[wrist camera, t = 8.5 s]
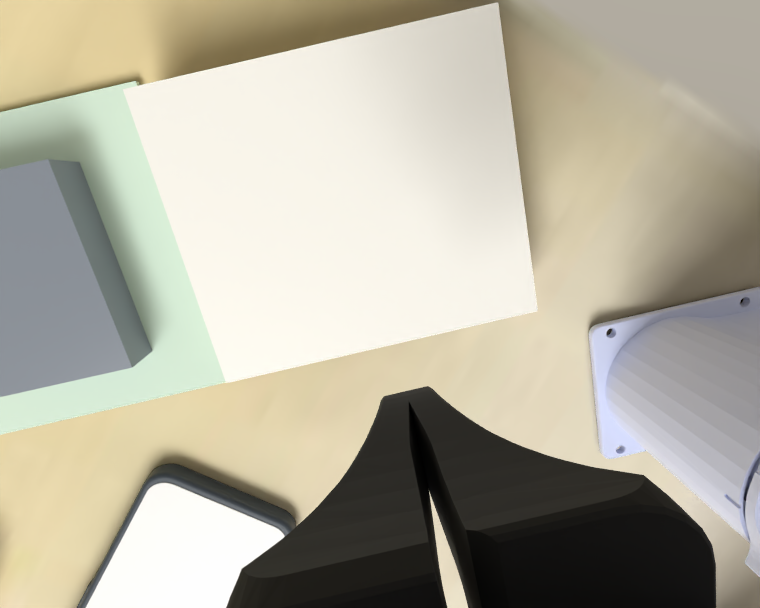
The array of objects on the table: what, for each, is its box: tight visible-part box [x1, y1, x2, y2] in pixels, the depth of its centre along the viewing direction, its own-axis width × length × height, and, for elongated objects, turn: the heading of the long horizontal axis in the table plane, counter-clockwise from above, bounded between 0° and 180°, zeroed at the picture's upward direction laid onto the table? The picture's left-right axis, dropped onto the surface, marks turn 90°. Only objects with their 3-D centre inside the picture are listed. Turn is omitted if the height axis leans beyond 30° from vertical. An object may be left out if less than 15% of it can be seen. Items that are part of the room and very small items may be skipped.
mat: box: [0, 81, 226, 435], centre depth 20 cm, size 16×14×1 cm
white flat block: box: [123, 2, 538, 383], centre depth 19 cm, size 14×12×3 cm
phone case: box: [77, 464, 296, 608], centre depth 25 cm, size 9×2×16 cm
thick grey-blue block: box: [0, 159, 152, 397], centre depth 19 cm, size 6×9×2 cm, turn 12°
